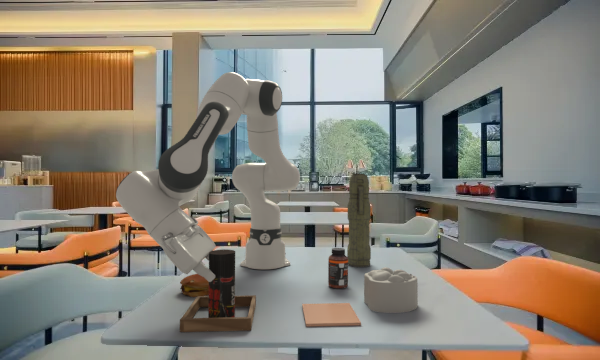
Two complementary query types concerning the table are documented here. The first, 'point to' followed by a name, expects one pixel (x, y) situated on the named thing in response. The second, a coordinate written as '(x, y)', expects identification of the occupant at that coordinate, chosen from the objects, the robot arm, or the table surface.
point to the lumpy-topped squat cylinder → (390, 291)
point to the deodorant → (222, 284)
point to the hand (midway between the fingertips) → (217, 273)
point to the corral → (218, 323)
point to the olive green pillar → (359, 221)
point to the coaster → (330, 314)
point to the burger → (195, 286)
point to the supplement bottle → (338, 269)
